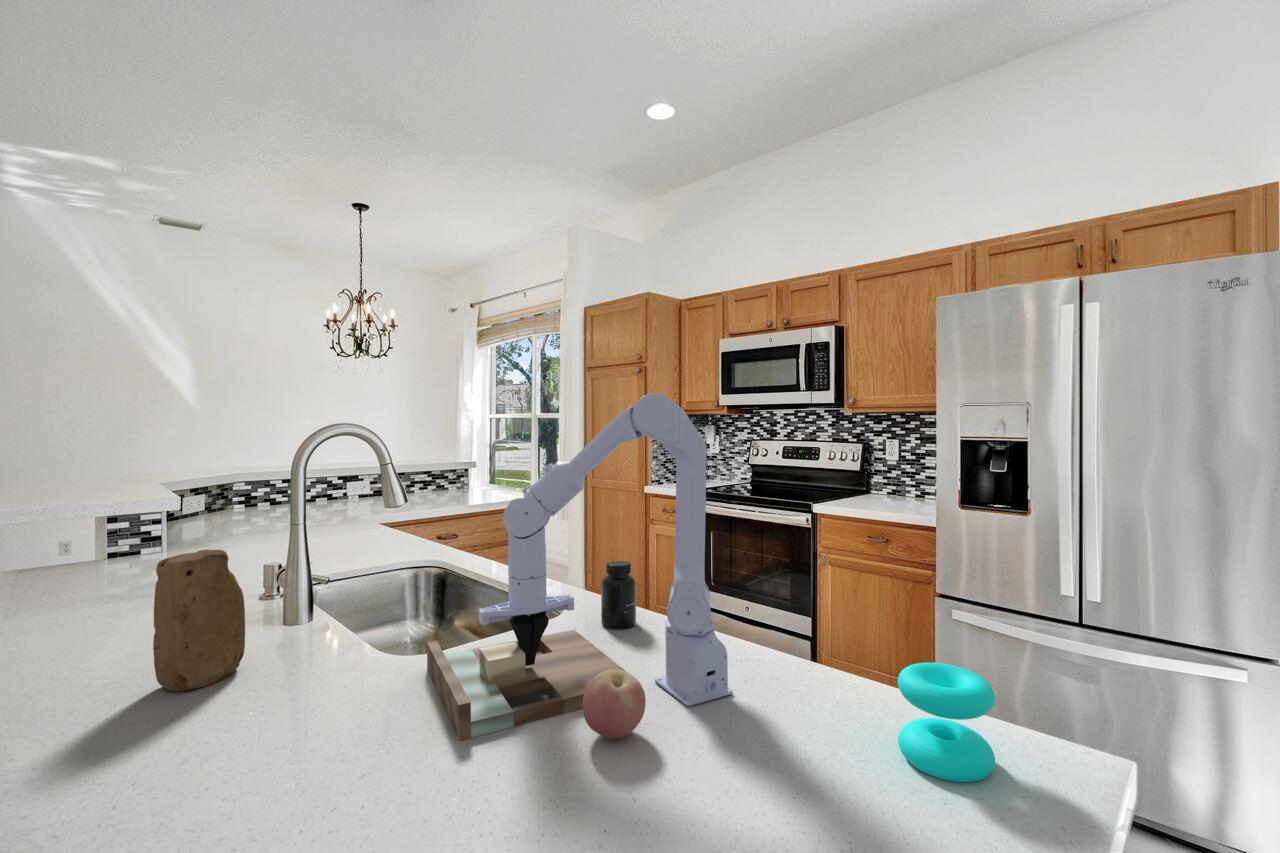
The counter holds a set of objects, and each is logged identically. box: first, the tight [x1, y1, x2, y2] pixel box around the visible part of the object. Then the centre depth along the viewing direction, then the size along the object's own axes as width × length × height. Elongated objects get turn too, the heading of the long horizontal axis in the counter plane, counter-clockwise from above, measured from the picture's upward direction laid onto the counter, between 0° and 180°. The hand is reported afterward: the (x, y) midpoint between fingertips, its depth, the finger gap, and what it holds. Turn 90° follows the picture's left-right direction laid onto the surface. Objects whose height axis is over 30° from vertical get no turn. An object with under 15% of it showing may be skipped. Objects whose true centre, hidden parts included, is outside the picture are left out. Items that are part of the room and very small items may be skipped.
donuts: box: [897, 662, 996, 783], centre depth 69 cm, size 10×10×10 cm
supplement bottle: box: [600, 560, 637, 630], centre depth 117 cm, size 7×7×12 cm
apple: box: [582, 669, 646, 740], centre depth 76 cm, size 8×8×8 cm
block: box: [152, 549, 246, 692], centre depth 94 cm, size 11×8×20 cm
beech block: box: [478, 641, 526, 685], centre depth 90 cm, size 6×6×4 cm
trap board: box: [426, 629, 626, 742], centre depth 92 cm, size 24×26×4 cm
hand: (528, 662), depth 92 cm, fingers closed
